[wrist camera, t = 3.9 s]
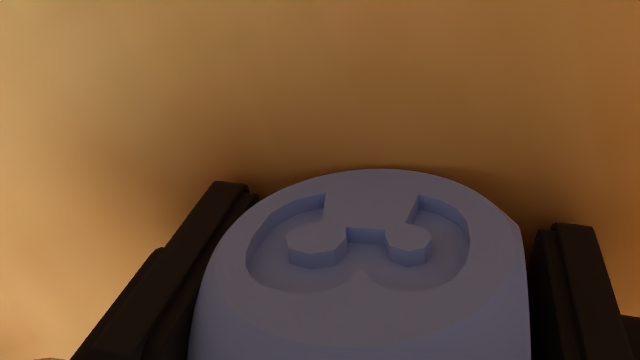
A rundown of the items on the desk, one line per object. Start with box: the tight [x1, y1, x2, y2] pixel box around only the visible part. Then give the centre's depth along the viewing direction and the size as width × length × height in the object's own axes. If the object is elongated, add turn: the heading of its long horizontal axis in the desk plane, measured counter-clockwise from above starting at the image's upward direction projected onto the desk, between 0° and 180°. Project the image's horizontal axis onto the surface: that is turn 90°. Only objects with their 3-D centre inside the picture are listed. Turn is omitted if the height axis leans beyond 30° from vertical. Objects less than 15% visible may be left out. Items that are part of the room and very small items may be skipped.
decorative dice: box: [187, 169, 531, 360], centre depth 8 cm, size 4×4×4 cm
